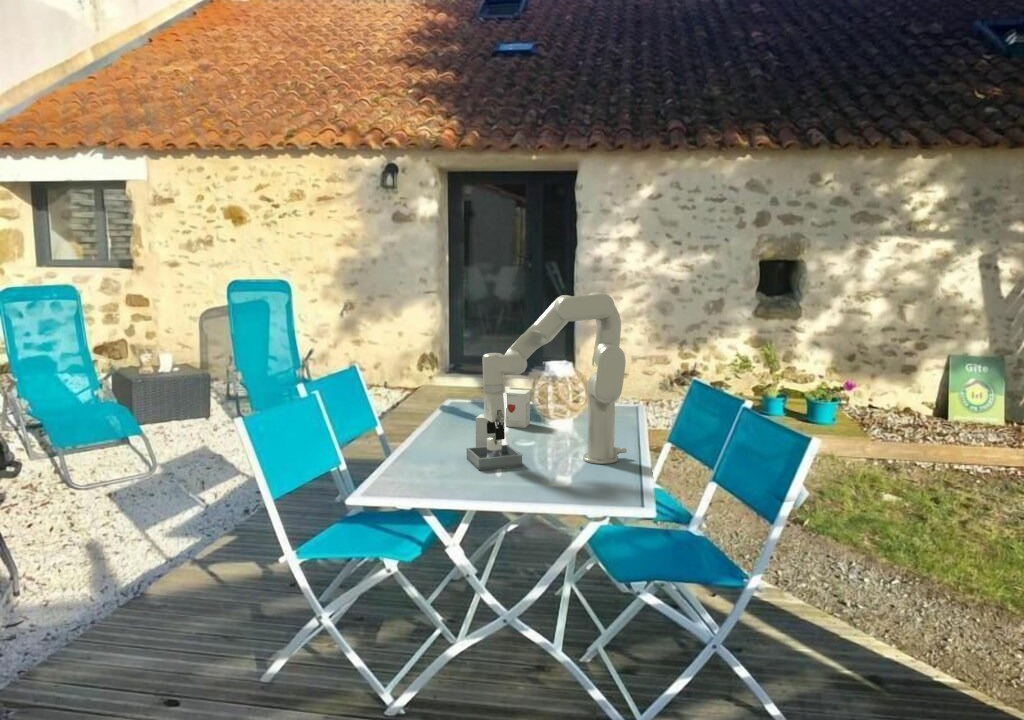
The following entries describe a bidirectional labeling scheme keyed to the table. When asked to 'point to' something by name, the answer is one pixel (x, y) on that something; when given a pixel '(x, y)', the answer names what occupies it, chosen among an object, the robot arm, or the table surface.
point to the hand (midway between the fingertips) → (495, 436)
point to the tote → (494, 458)
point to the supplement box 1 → (482, 431)
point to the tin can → (494, 447)
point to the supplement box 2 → (518, 408)
